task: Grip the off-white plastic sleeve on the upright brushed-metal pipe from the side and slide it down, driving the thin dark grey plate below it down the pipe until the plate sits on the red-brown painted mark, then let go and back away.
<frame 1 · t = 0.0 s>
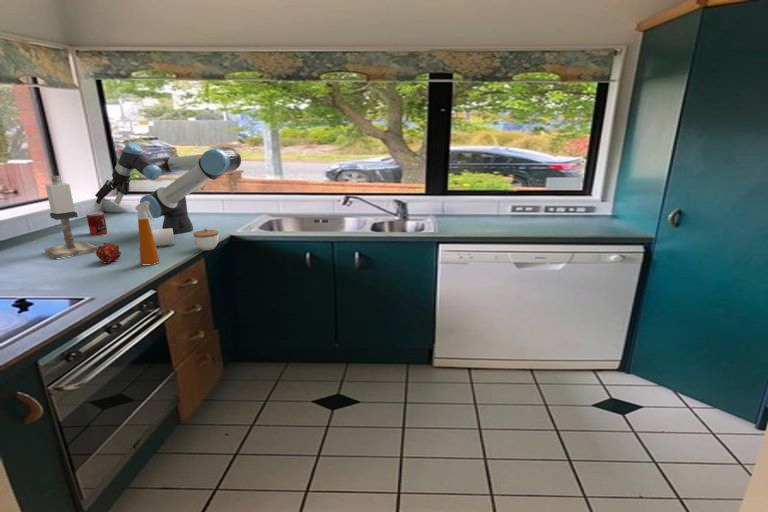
hand: (106, 205, 229), 15 cm above the worktop, tool tilted 35°, fingers open, 13 cm apart
sleeve: (60, 198, 195), point 24 cm above the worktop, slide at 9.5 cm
pipe stand: (71, 252, 202), on the worktop
spray bottle: (153, 264, 185), on the worktop
thin dark grey plate: (63, 215, 197), point 17 cm above the worktop, slide at 9.0 cm
lidded jar: (208, 249, 207), on the worktop
canned food: (99, 234, 235), on the worktop
dragon fruit: (110, 262, 188), on the worktop
mug: (163, 245, 214), on the worktop
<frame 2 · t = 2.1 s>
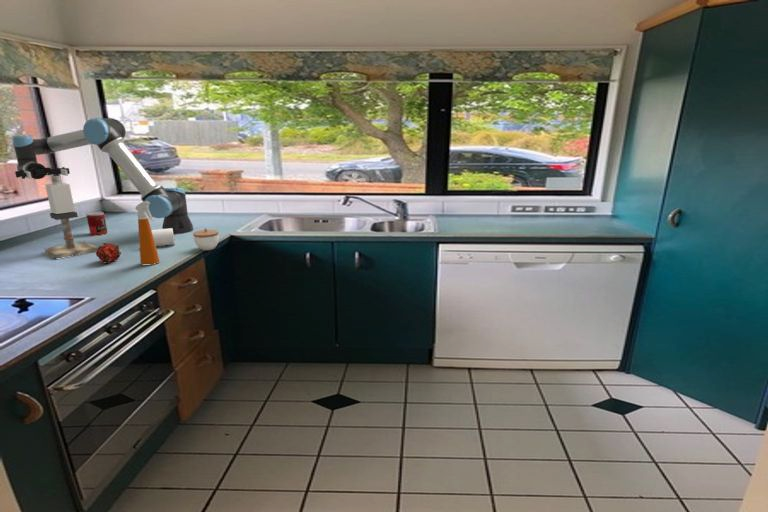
hand: (48, 174, 198), 34 cm above the worktop, tool horizontal, fingers open, 13 cm apart
nothing on the worktop moved.
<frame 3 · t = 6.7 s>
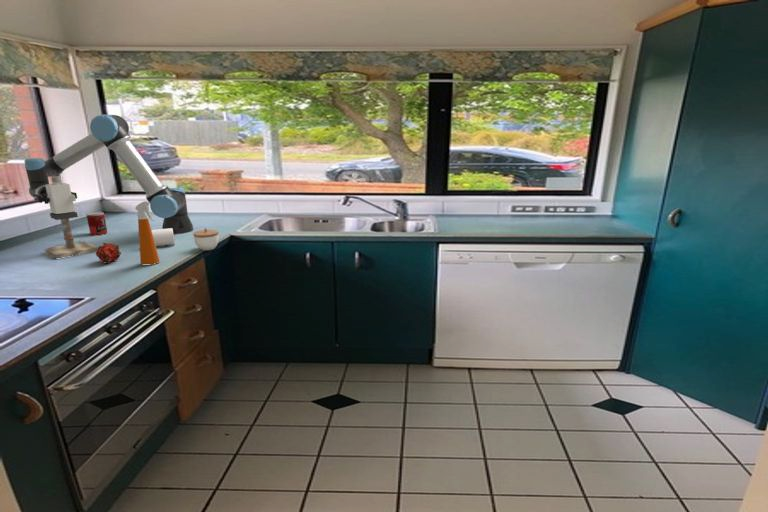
hand: (64, 199, 192), 24 cm above the worktop, tool horizontal, fingers closed on sleeve, 7 cm apart
sleeve: (60, 198, 195), point 24 cm above the worktop, slide at 9.5 cm, touching gripper
everything else where it was.
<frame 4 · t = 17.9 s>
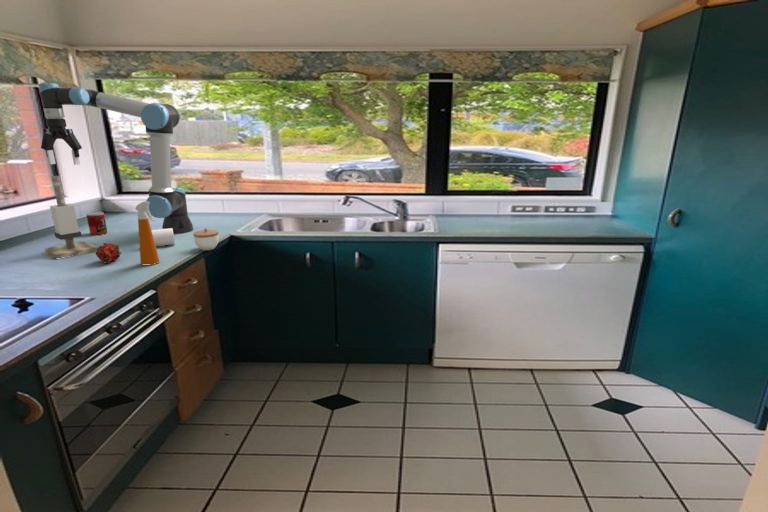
hand: (64, 164, 216), 37 cm above the worktop, tool pointing down, fingers open, 13 cm apart
sleeve: (64, 219, 198), point 15 cm above the worktop, slide at 0.2 cm, touching thin dark grey plate
thin dark grey plate: (68, 234, 200), point 8 cm above the worktop, slide at 0.2 cm, touching sleeve
everything else where it was.
at the end: thin dark grey plate slide at 0.2 cm; sleeve slide at 0.2 cm; the gripper is holding nothing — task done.
